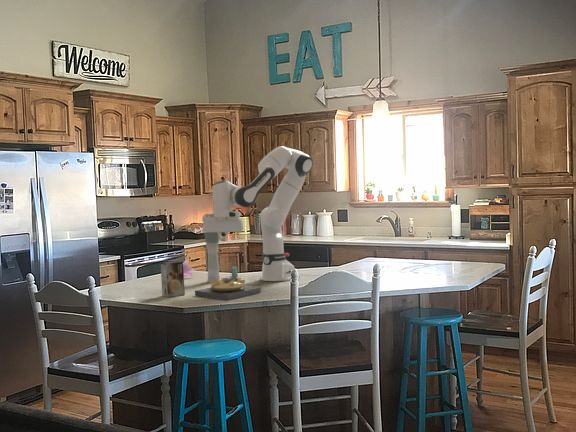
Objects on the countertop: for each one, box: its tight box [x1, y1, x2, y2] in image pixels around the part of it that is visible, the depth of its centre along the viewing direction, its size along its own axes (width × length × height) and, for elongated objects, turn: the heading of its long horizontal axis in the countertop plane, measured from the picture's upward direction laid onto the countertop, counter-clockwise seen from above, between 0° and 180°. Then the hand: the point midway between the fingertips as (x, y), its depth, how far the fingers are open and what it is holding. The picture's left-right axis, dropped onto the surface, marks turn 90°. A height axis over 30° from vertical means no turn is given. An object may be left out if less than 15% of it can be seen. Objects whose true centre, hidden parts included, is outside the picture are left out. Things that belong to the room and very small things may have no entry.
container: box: [203, 232, 221, 284], centre depth 350 cm, size 10×10×30 cm
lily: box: [183, 259, 195, 280], centre depth 367 cm, size 12×12×10 cm
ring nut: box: [210, 266, 246, 291], centre depth 314 cm, size 24×16×8 cm
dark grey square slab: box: [194, 285, 262, 301], centre depth 310 cm, size 22×22×3 cm
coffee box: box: [160, 260, 186, 298], centre depth 312 cm, size 9×6×16 cm
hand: (223, 241), depth 323 cm, fingers closed
